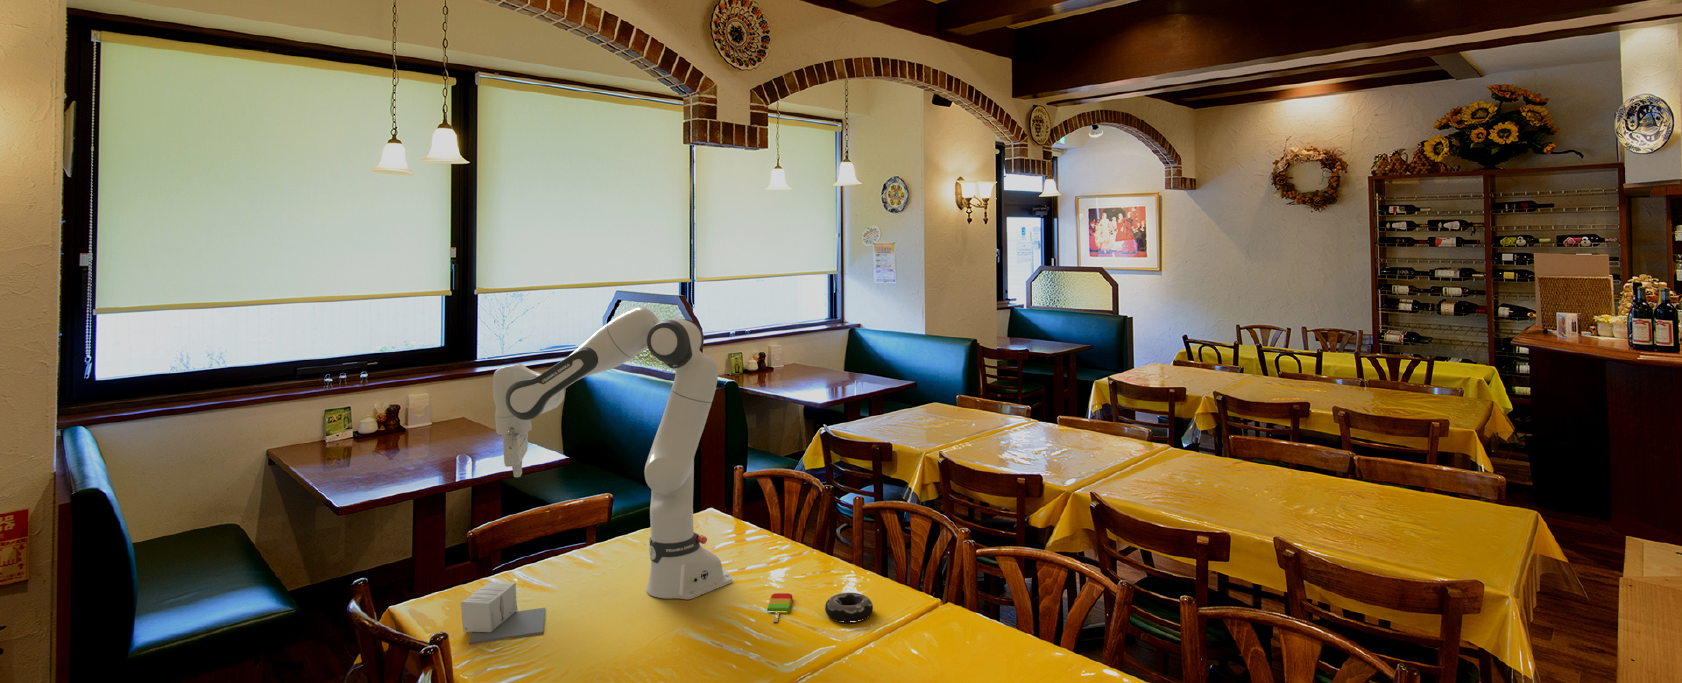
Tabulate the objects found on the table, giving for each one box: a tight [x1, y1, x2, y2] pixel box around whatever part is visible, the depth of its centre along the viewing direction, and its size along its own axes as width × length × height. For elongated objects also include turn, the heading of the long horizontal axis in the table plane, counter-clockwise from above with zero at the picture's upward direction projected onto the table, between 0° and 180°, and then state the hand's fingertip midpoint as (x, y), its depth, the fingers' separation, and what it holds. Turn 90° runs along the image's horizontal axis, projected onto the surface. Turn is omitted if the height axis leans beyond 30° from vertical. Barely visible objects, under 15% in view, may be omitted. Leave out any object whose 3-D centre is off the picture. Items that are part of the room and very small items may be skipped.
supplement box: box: [460, 581, 518, 633], centre depth 199 cm, size 7×7×13 cm
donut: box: [824, 592, 874, 622], centre depth 202 cm, size 12×12×4 cm
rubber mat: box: [468, 607, 546, 645], centre depth 198 cm, size 14×16×1 cm
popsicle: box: [766, 592, 793, 623], centre depth 205 cm, size 6×15×2 cm, turn 177°
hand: (518, 476), depth 221 cm, fingers closed
